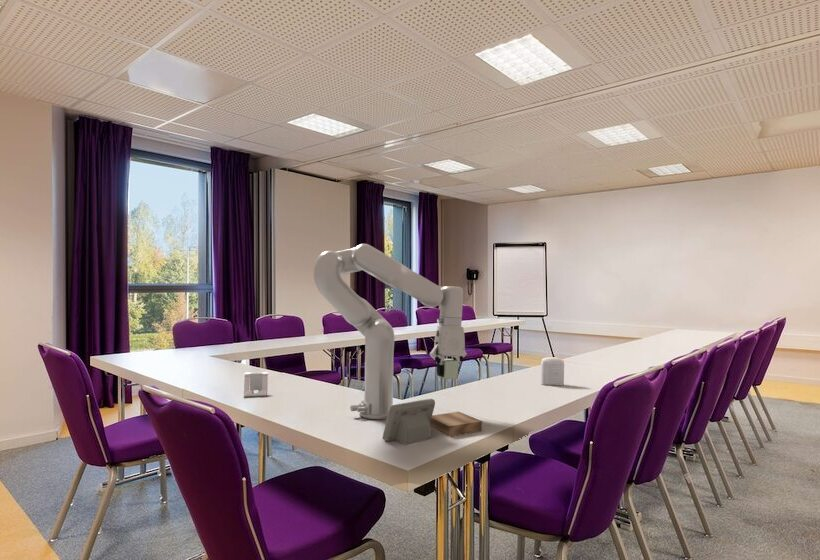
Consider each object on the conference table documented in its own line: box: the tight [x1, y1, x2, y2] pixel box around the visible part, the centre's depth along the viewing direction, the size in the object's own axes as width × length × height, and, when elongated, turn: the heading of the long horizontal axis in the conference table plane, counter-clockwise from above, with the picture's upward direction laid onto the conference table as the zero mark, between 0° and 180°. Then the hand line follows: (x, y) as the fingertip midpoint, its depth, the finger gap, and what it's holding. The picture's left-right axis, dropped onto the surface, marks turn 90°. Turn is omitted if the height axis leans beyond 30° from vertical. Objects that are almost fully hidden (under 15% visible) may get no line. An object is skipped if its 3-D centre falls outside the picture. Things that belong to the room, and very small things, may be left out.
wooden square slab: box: [430, 411, 483, 437], centre depth 146 cm, size 12×12×3 cm
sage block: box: [436, 358, 459, 380], centre depth 162 cm, size 5×5×6 cm
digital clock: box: [382, 398, 436, 445], centre depth 136 cm, size 16×9×11 cm, turn 117°
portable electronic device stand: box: [243, 371, 269, 398], centre depth 186 cm, size 9×8×8 cm
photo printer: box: [540, 356, 565, 387], centre depth 215 cm, size 10×4×12 cm, turn 87°
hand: (447, 375), depth 162 cm, fingers closed on sage block, 5 cm apart
